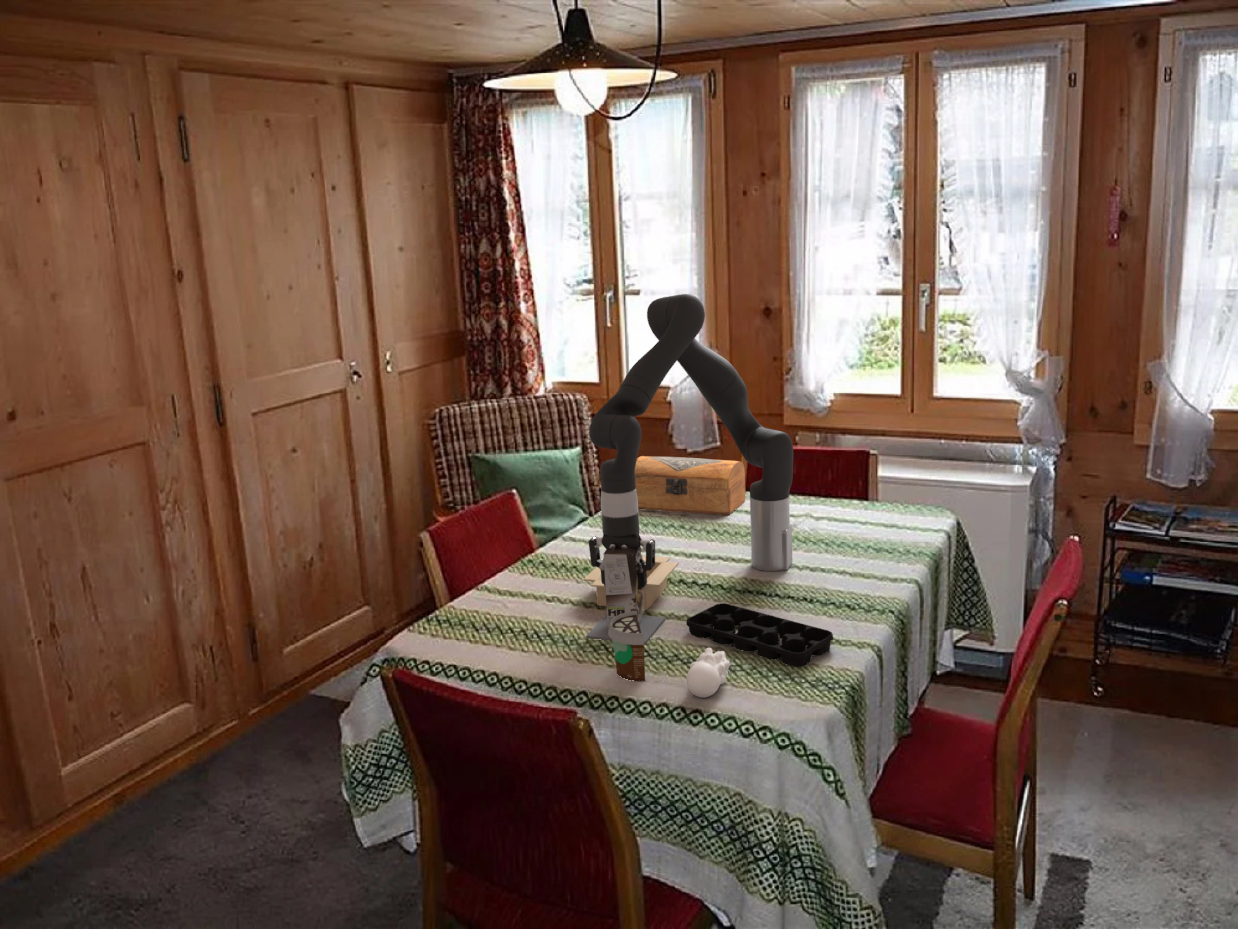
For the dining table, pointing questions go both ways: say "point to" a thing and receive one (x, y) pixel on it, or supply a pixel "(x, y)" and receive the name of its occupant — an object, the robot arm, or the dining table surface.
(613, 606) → the coffee box
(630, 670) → the food container
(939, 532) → the dining table surface
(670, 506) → the wooden box
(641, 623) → the rubber mat
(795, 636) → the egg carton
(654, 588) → the carton
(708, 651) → the figurine
